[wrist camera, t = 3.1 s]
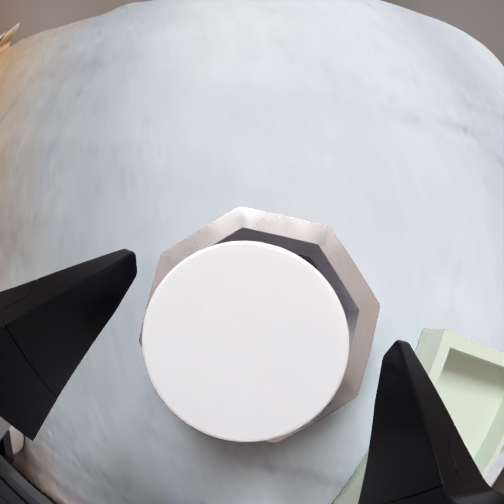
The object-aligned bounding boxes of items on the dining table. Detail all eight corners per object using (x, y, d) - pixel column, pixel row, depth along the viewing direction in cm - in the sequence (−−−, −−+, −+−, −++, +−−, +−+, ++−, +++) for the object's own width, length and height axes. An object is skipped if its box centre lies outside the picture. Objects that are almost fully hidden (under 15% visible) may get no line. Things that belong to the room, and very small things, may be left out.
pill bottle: (211, 273, 16) (130, 215, 6) (312, 275, 16) (372, 217, 6) (208, 372, 15) (125, 442, 5) (309, 375, 15) (362, 458, 5)
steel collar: (228, 443, 14) (220, 466, 11) (137, 290, 16) (112, 285, 13) (386, 350, 14) (408, 357, 12) (290, 198, 17) (293, 175, 14)
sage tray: (423, 528, 10) (433, 542, 8) (312, 526, 12) (316, 547, 9) (514, 363, 13) (534, 365, 11) (423, 328, 15) (444, 329, 12)
